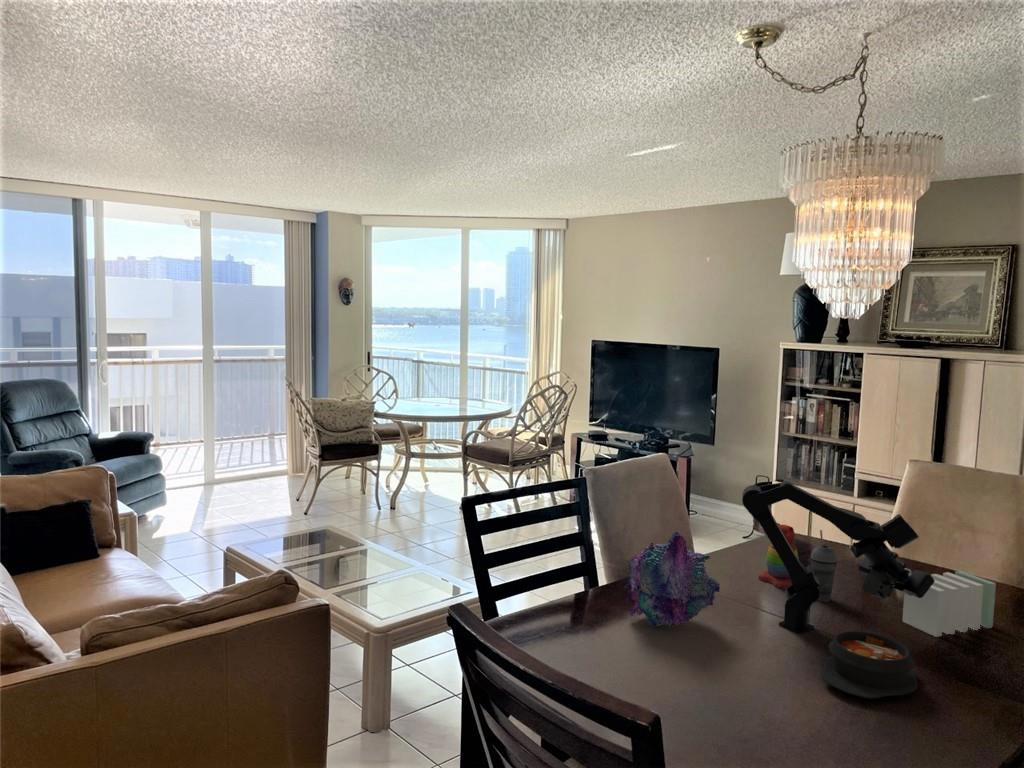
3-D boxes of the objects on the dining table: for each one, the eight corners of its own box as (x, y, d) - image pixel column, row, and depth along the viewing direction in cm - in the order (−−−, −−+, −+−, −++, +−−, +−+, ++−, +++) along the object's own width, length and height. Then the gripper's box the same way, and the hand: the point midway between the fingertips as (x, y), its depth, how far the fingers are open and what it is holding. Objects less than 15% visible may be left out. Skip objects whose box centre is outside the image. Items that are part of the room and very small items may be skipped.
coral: (609, 628, 180) (612, 532, 178) (635, 600, 199) (638, 513, 197) (708, 650, 169) (713, 548, 167) (726, 618, 188) (730, 526, 186)
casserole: (854, 651, 170) (856, 617, 170) (938, 682, 156) (941, 645, 155) (798, 681, 155) (800, 644, 154) (886, 718, 140) (888, 678, 140)
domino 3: (961, 632, 182) (965, 587, 181) (927, 617, 191) (930, 574, 190) (967, 631, 183) (970, 586, 182) (933, 616, 192) (936, 573, 191)
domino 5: (987, 628, 185) (990, 584, 184) (952, 613, 194) (955, 571, 193) (992, 627, 186) (995, 583, 185) (957, 613, 195) (960, 570, 194)
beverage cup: (832, 605, 198) (836, 536, 197) (804, 599, 203) (808, 531, 201) (838, 598, 204) (842, 530, 203) (811, 592, 208) (815, 525, 207)
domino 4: (974, 630, 183) (977, 585, 182) (940, 615, 193) (942, 572, 192) (980, 629, 184) (983, 585, 183) (945, 614, 193) (948, 572, 193)
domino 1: (935, 637, 179) (939, 591, 178) (902, 621, 188) (905, 577, 187) (941, 636, 180) (944, 590, 179) (908, 620, 189) (911, 577, 188)
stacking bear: (755, 578, 220) (757, 522, 218) (779, 573, 224) (782, 518, 223) (781, 589, 210) (784, 531, 209) (806, 585, 214) (809, 527, 213)
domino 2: (948, 634, 180) (952, 589, 180) (915, 619, 190) (918, 576, 189) (954, 633, 181) (957, 588, 180) (920, 618, 191) (923, 575, 190)
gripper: (832, 568, 185) (863, 604, 189) (891, 593, 167) (924, 633, 171) (858, 536, 187) (888, 573, 191) (919, 558, 169) (950, 598, 173)
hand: (910, 594), depth 182 cm, fingers closed
